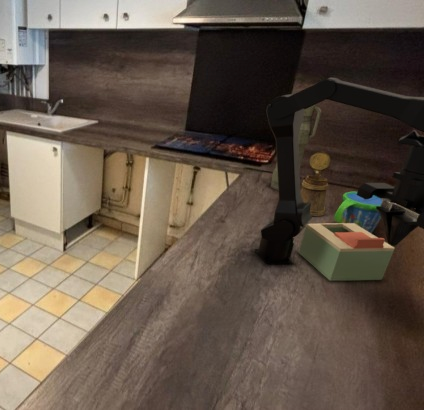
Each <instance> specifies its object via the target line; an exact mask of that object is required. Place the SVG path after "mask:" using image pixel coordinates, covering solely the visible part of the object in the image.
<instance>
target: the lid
mask: <svg viewBox="0 0 424 410" xmlns="http://www.w3.org/2000/svg"><path fill="white" fill-rule="evenodd" d="M306 227H307V228H309V229H310V230H311V231H313V232H314V233H315V234H317V235H318V236H319V237H321V238H322V239H323V240H325V241H326V242H327V243H329V244H330V245H331V246H333V247H334V248H335V249H337V250H338V251H339V252H351V251H354V252H355V251H393V252H395V248H396V247H395V246H391V245H389V244H388V242H386V241H384V244H383V246H384V247H383V248H352V247H351V246H350V245H348V244H347V243H345V242H344V241H342V240H341V239H340V238H338V237H337V236H335V235H334V233H332V232H331V231H329V230H328V229H327V228H325V227H343V228H345V229H346V230H348V231H349V232H363V233H364V234H366V235H367V236H369V237H371V238H379V237H378V236H376V235H374V234H373V233H372V234H371V233H369V232H368V231H366V230H365V229H363V228H361V227H360V226H358V225H356V224H355V223H338V222H335V223H333V222H332V223H325V222H324V223H308V224H307V226H306ZM306 227H305V228H306Z"/></svg>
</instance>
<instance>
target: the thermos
mask: <svg viewBox="0 0 424 410" xmlns="http://www.w3.org/2000/svg"><path fill="white" fill-rule="evenodd" d="M300 91H301V90H299V91H296V92H295V93H297V92H300ZM316 105H317V104H315V105H313V106H311V107H309V108H307V109H304V115H303V121H302V124H301V127H300V131H299V134H298V144H299V168H300V169H301V166H302V162H303V159H304V158H303V157H304V155H305V151H306V146H307V145H309V141H310V139H312V138H313V137H315V136H316V132H317V129H318V126H319V125H318V124H319V122H320V119H321V116H322V110H321V108H320V107H319V106H316ZM315 111H316V117H315V121H314V125H313V128H312V121H313V120H312V118H313V117H314V112H315ZM270 180H271V183H270V188H271V189H273V190H275V191H279V189H278V171H277V163H276V164H275V168H274V170H273V171H272V174H271V179H270Z"/></svg>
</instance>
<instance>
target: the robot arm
mask: <svg viewBox="0 0 424 410" xmlns="http://www.w3.org/2000/svg"><path fill="white" fill-rule="evenodd" d="M299 91H300V92H298V91H296V92H297V93H296V92H295V93H291V94H290V93H289V94H285V95H281V96H280V95H279V96H277V97H274V98H273V99H272V100H271V101H270V102H269V103H268V105H266V111H265V112H266V117H267V121H268V125H269V129H270V130H271V133H272V134H273V136H274V139H275V148H276V164H277V171H278V189H279V190H278V201H277V204H276V208H275V210H274V215H273V216H274V217H273V219H272V220H271V221H269V222H268V224H266V225H265V226H264V227H263V228H262V229H261V230H260V234H261V238H260V242H259V245H258V246H259V247H258V248H254V252H255V253H256V254H257V256H258V257H259V258H260V259H261V260H262V261H263V263H265V264H267V265H291V264H293V260H291V258H292V257H291V256H292V253H293V249H294V246H295V243H294V240H295V237H298V235H299V234H300V233H301V232H302V231H303V230H305V228H306V226H307V224H309V222H310V221H311V220H312V219H313V216H311V214H310V207H311V202H307V203H304V201H303V199H302V197H301V193H300V191H301V174H300V172H301V170H300V169H301V167H300V168H299V144H298V134H299V131H300V127H301V124H302V121H303V115H304V109H307V108H309V107H311V106H313V105H315V104H316V105H317V104H320V103H322V102H323V101H326V100H328V101H332V102H336V103H339V104H342V105H347V106H350V107H354V108H358V109H362V110H366V111H369V112H373V113H377V114H380V115H384V116H387V117H391V118H394V119H395V120H398V121H400V122H402V123H403V124H405V125H407V126H408V127H411V128H413V130H412V131H410V132H409V133H408V134H405V135H403V136H401V137H400V138H399V139H398V141H397V143H398V144H399V145H407V146H409V148H408V151H407V153H406V155H405V158H404V161H403V163H402V166H401V169H400V170H399V171H393V174H392V176H391V177H392V178H393V179H396V182H395V185H391V184H388V183H385V182H364V183H362V184H361V185H360V186H359V187H358V188H357V191H356V192H357V195H358V196H360V197H362V198H364V199H370V198H372V197H373V195H374V196H377V197H379V198H381V200H382V203H381V206H377V207H376V209H377V210H378V211H379V213H380V216H381V219H380V220H381V222H382V225H383V229H384V233H385V237H386V241H387V242H386V243H388V244H389V245H391V246H392V247H397V246H398V245H399V244H400V243H401V242H402V241H403V240H404V239H405V238H406V237H407V236H409V234H411V233H412V232H413V231H414V230H416V229H418V227H419V228H420V229H423V230H424V135H420V134H419V133H418V132H417V131H419V132H422V133H424V96H411V95H403V94H399V93H395V92H391V91H386V90H382V89H378V88H374V87H369V86H366V85H361V84H357V83H353V82H349V81H344V80H341V79H340V78H337V77H328V78H323V79H321V80H319V81H318V82H317V83H315V84H313V85H311V86H309V87H308V86H307V88H304V89H301V90H299ZM316 105H315V106H316Z"/></svg>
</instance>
